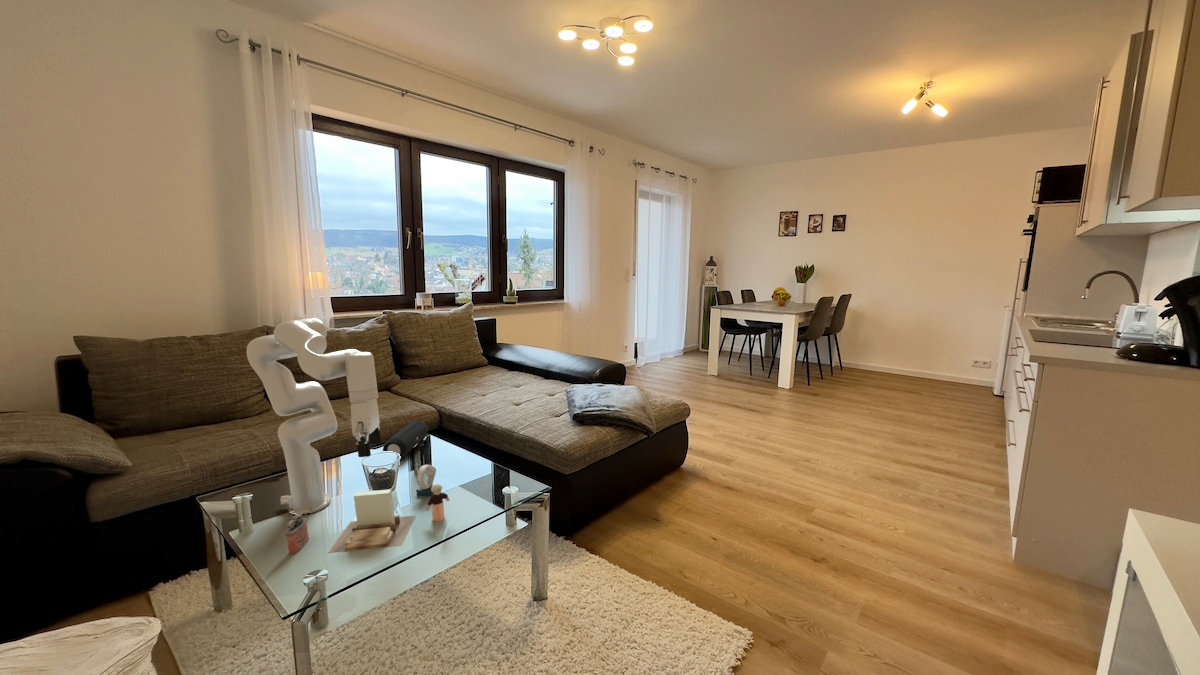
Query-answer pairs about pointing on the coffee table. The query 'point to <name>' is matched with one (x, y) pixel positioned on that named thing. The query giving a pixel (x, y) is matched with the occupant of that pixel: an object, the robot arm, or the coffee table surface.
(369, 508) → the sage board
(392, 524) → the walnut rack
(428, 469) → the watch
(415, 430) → the portable speaker
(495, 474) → the coffee table surface
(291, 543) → the lighter
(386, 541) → the lower birch offcut
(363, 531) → the upper birch offcut
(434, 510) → the grandmother figurine
